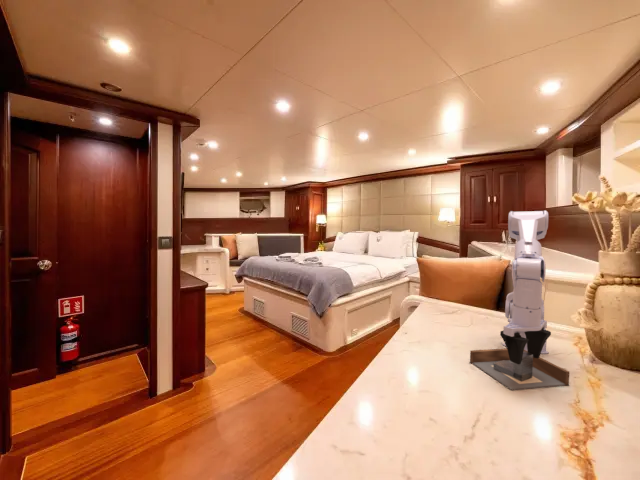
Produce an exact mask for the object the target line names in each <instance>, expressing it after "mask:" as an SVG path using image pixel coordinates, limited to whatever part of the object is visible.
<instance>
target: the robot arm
mask: <svg viewBox="0 0 640 480" xmlns="http://www.w3.org/2000/svg"><path fill="white" fill-rule="evenodd" d="M507 218H508V219H507V220H508V221H507V225H508V226H507V228H508V229H507V230H508V235H509V238H511V239H514V240H515V241H516V242H515V245H514V259H512V263H511V278H512V287H513V288H512V291H511V292H509V293H507V295H506V298H505V299H506V300H505V308H504V315H505V318H506V319H507V324H506V325H504V326H503V330H500V332H499V333H500V337H501V339H502V340H503V343H502V344H501V345H502V346H503V347H505V348H507V350H508V354H509V358H510V361H511V362H514V363H516V364H521V361H522V356H523V351H524V350H526V351H528V353H531V354H533V357H534V358H537V359H538V358H539V357H541V355H546V354H547V355H549V353H550V352H549V351H548V350H547V342H548V341H547V340H548V339H549V338H550V337H551V335H552V332H551V331H550V330H547V325H548V321H547V320H545V305H544V304H545V302H544V299H543V295H542V294H543V283H544V282H545V279H546V269H547V268H546V261H545V258H544V256H543V249H542V248H543V247H542V244H541V242H540V241H539V240H541V239H545V237H546V235H547V233H548V232H547V230H548V229H549V212H548V211H547V210H546V209H545V210H534V211H532V210H531V211H530V210H529V211H528V210H527V211H513V210H510V211H509V212H508V217H507Z"/></svg>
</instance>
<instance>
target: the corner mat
mask: <svg viewBox="0 0 640 480" xmlns="http://www.w3.org/2000/svg"><path fill="white" fill-rule="evenodd" d="M505 361H508V362H510V363H512V364H513V362H511V361H510V360H505ZM469 362H470V361H469ZM496 362H499V361H488V362H473V363H471V362H470V363H471V364H472V365H473V366H474V367H476V368H477V369H479V370H481V371H482V372H484V373H485V374H486V375H488V376H489V377H490V378H492V379H493V380H495V381H497V382H498V383H499V384H501V385H503V386H504V387H505V388H507V389H508V390H509V391H518V390H520V391H521V390H529V389H530V390H531V389H543V388H554V387H555V388H556V387H566V386H570V383H569V384H568V385H567V384H564V383H562V382H560V381H559V380H557V379H555V378H553V377H551V376H549V375H547V374H546V373H544V372H542V371H540V370H538V369H536V368H534V367H533V370H532V378H530V379H527V380H525V381H522V382H521V381H519V380H517V379H515V378H513V377H510V376H508V375H506V374H504V373H502V372H500V371H497V370H495V369H493V365H494V363H496Z"/></svg>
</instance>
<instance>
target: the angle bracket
mask: <svg viewBox="0 0 640 480" xmlns="http://www.w3.org/2000/svg"><path fill="white" fill-rule="evenodd" d="M493 369H495V370H497V371H500V372H502V373H504V374H506V375H508V376H510V377H513V378H515V379H517V380H519V381H521V382H522V381H525V380H527V379H530V378H532V370H533V354H531V353H528V352H525V351H523V356H522V361H521V364H516V363H514V362H513V364H512V363H510V362H508V361H505V360H502V361H499V362H496V363H494V365H493Z"/></svg>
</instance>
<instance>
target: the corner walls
mask: <svg viewBox="0 0 640 480" xmlns="http://www.w3.org/2000/svg"><path fill="white" fill-rule="evenodd" d="M469 351H470V352H469V362H471V364H472V363H473V362H488V361H502V360H510V358H509V354H508V350H507V347H505V348H493V349H492V348H491V349H474V350H473V349H472V350H469ZM524 351H525V352H528V351H526V350H524ZM533 367H534V368H536V369H538V370H540V371H542V372H544V373H546V374H547V375H549V376H551V377H553V378H555V379H557V380H559V381H560V382H562V383H564V384H567V385H568V384H569V385H570V371H568V370H567V369H565V368H563V367H560V366H559V365H556V364H554V363H552V362H550V361H548V360H546V359H544V358H542V357H541V356H539V358H538V359H537V358H534V357H533ZM569 385H568V386H569Z"/></svg>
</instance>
